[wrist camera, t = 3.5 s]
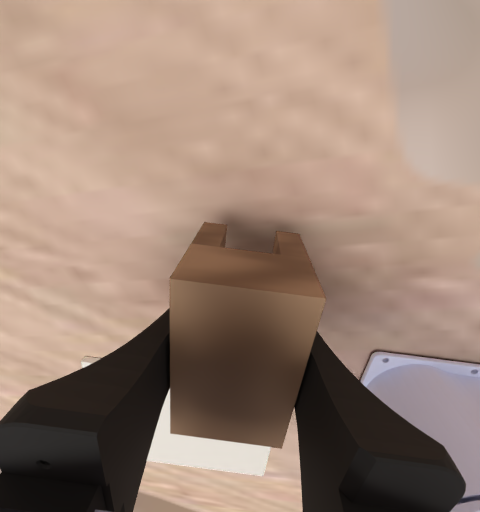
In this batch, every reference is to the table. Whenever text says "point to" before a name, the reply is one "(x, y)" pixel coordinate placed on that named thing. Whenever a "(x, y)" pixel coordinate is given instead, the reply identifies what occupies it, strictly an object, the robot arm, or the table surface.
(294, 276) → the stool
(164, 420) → the mat
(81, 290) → the table surface
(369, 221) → the table surface
